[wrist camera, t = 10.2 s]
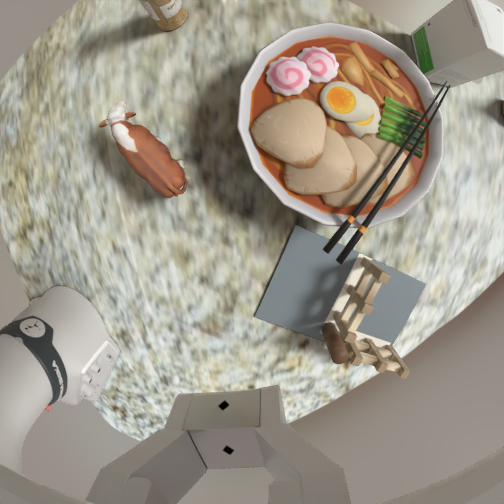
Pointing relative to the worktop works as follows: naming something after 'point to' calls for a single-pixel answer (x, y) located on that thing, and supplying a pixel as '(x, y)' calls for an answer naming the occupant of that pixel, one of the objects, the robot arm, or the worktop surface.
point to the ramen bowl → (341, 127)
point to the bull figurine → (146, 153)
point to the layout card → (333, 291)
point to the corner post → (334, 343)
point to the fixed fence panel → (375, 356)
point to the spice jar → (166, 13)
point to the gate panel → (360, 299)
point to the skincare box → (461, 42)
